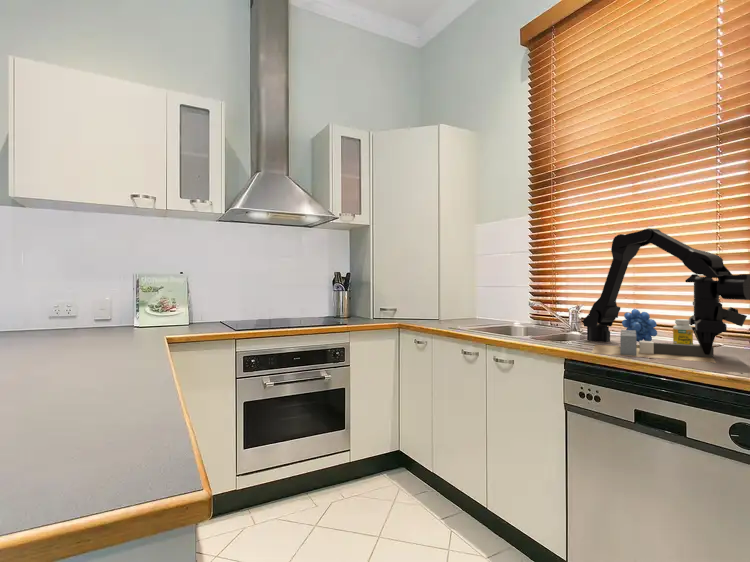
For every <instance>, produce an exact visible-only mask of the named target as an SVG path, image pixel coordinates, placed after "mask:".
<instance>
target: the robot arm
mask: <svg viewBox="0 0 750 562" xmlns="http://www.w3.org/2000/svg"><path fill="white" fill-rule="evenodd" d="M650 244H652V245H654V246H655V247H657V248H659V249H661V250H662V251H665V252H666V253H668V254H670V255H672V256H673V257H675V258H677V259H679V261H681V262H682V263H683V265H684V266H685V267H686V268H687V269H689V270H690V271H691V272H692V273H693V274H691V275H690V276H689V277H688V278H686V279H685V283H693V301H692V306H693V315H692V316H690V317H689V318H688V320H689V326H691V328H692V330H693V335H695V338H696V340H697V342H698V345H701V347H702V349H703V351H704V354H707V355H709V354H710V352H711V348H712V346H713V345H714V342H715V338H716V337H717V336H718V335H720V334H722V333H727V326H728V325H727V324H726V323H725V322H729V323H733V324H734V325H736V326H740V327H743V326H744V323H745V322H746V320H747V317H748V315H746V314H743V313H739V309H737V308H734V307H731V306H730V307H729V308H723V304H722V302H720V297H721V299H724V300H737V301H738V300H740V301H750V273H749V274H748V273H747V274H746V273H743V274H742V273H741V274H732V273H731V271H730V270H729V269H728V268H727V267H726V265H724V259H723V258H722V257H721V256H720V255H717V254H716V253H715V254H714V253H710V252H708V251H705V250H700V249H697V248H693V247H691V246H689V245H687V244H686V243H683V242H682V241H680V240H678V239H676V238H674V237H672V236H670V235H668V234H666V233H664V232H662V231H661V230H660V229H658V228H649V227H648V228H645V229H642V230H639V231H638V230H637V231H635V232H630V233H627V234H626V233H625V234H624V233H620V234H618V235H616V236H614V238H613V239H612V242H611V247H610V251H611V255H612V261H611V263H610V266H609V270H608V273H607V276H606V279H605V282H604V285H603V287H602V288H603V289H602V291H601V294H600V297H599V298H598V299H597V300H596V301H595V302H594V303H593V305H592V307H591V308H590V310H589V313H587V314H588V315H587V316H586V317H584V319H583V320H582V324H583V326H584V327H586V332H587V333H586V340H587V341H591V342H598V343H599V342H600V343H601V342H603V343H610V342H611V331H610V329H609V328H610V327H612V326H613V324H614V321H615V320H616V319H618V318H619V313H620V311H621V306H618V305H617V298H618V295H619V293H620V290H621V287H622V284H623V281H624V277H625V275H626V273H627V269H628V266H629V263H630V262H631V260H633V259H634V258H635V256H637V254H638V253H639V251H640V249H641V248H642V247H645V246H648V245H650ZM701 275H703V276H701ZM715 279H717V280H715ZM724 321H725V322H724ZM693 325H694V326H693Z"/></svg>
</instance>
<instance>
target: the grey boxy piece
mask: <svg viewBox="0 0 750 562" xmlns="http://www.w3.org/2000/svg"><path fill="white" fill-rule="evenodd" d="M619 338H620V341H619V344H620V355H619V356H621V355H631V356H630V357H634V356H636V345H637V341H636V330H626V329H621V330H620V337H619Z"/></svg>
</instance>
